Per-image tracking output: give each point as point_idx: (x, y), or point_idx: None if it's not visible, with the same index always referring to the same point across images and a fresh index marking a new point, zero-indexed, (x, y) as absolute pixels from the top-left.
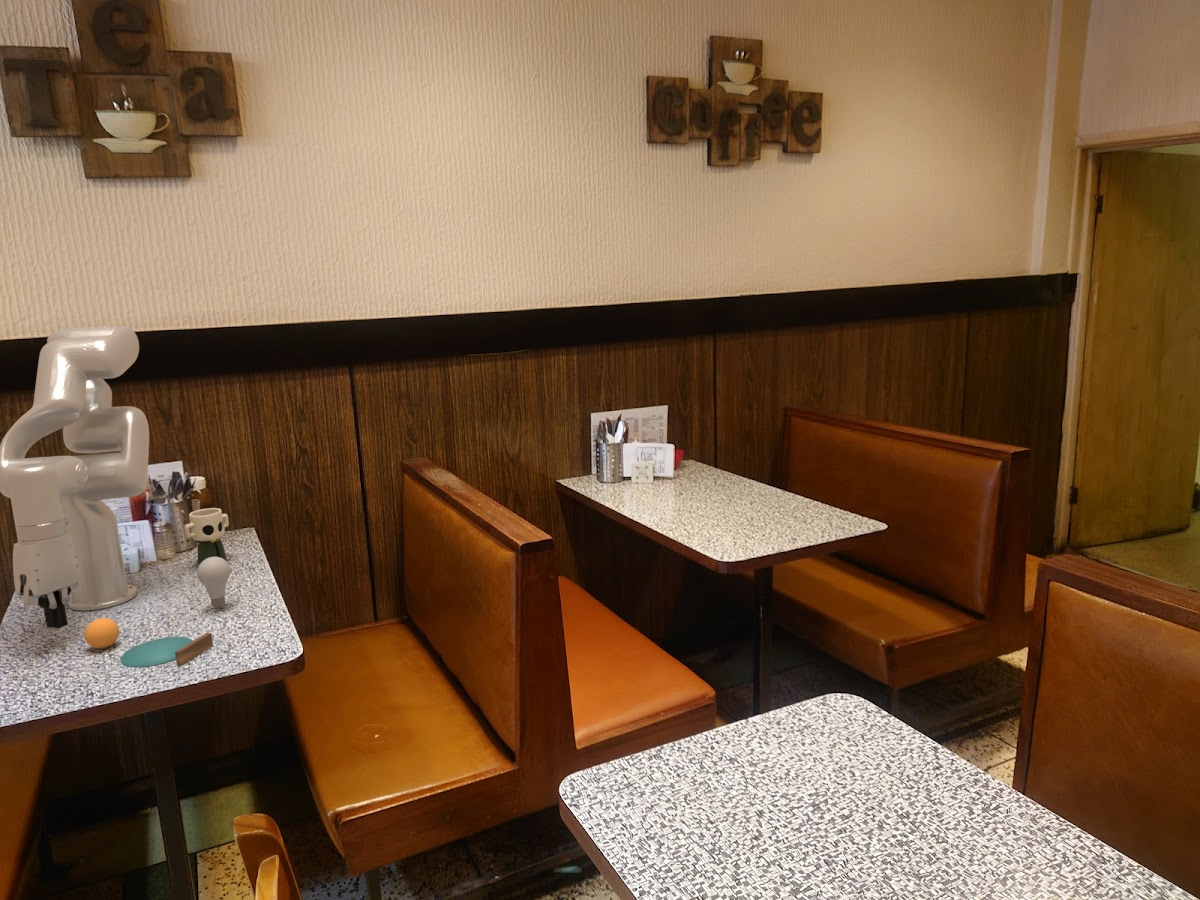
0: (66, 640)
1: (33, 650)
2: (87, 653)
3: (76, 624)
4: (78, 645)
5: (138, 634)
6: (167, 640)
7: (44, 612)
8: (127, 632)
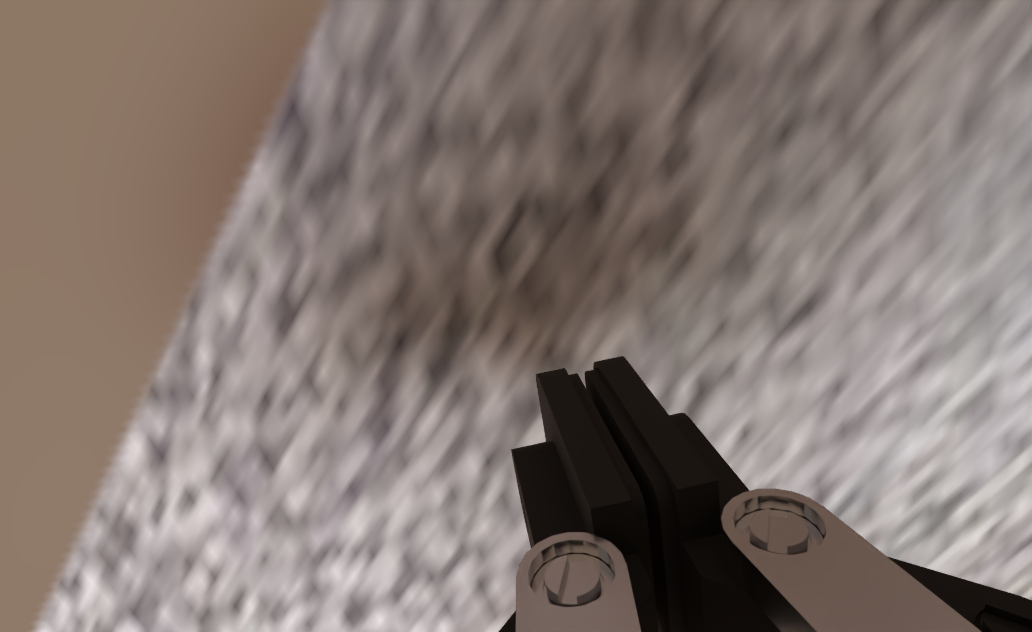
0: (636, 289)
1: (421, 224)
2: None
3: (916, 37)
4: None
5: None
6: None
7: (532, 536)
8: None
